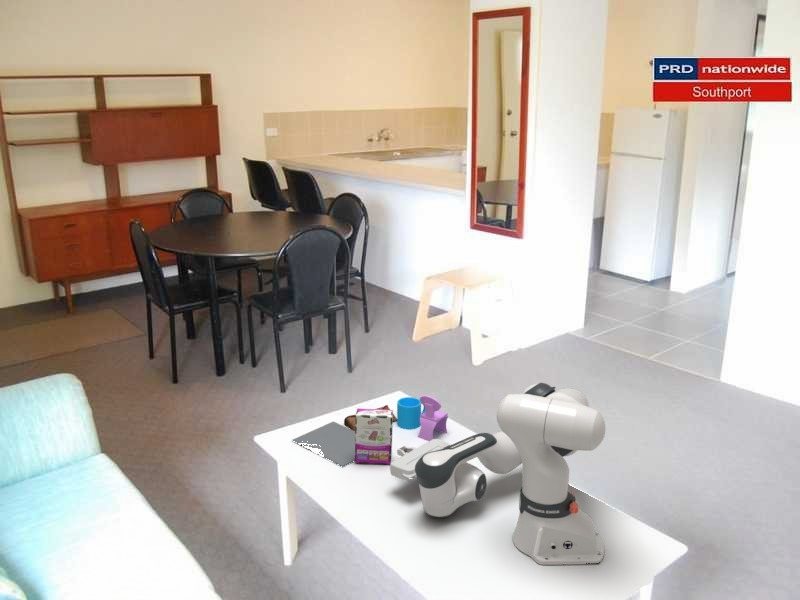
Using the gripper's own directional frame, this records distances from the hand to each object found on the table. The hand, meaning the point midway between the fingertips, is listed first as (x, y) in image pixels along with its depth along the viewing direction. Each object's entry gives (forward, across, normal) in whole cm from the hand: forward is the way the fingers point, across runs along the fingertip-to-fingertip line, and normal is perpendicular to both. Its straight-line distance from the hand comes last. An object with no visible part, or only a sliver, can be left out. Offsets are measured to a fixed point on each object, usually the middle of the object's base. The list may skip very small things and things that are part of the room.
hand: (400, 449), depth 207 cm
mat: (+27, 0, -8) cm, 28 cm away
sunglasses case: (+29, +18, -9) cm, 35 cm away
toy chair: (+9, +25, -8) cm, 28 cm away
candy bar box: (+11, 0, -8) cm, 14 cm away
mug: (+19, +28, -8) cm, 35 cm away
